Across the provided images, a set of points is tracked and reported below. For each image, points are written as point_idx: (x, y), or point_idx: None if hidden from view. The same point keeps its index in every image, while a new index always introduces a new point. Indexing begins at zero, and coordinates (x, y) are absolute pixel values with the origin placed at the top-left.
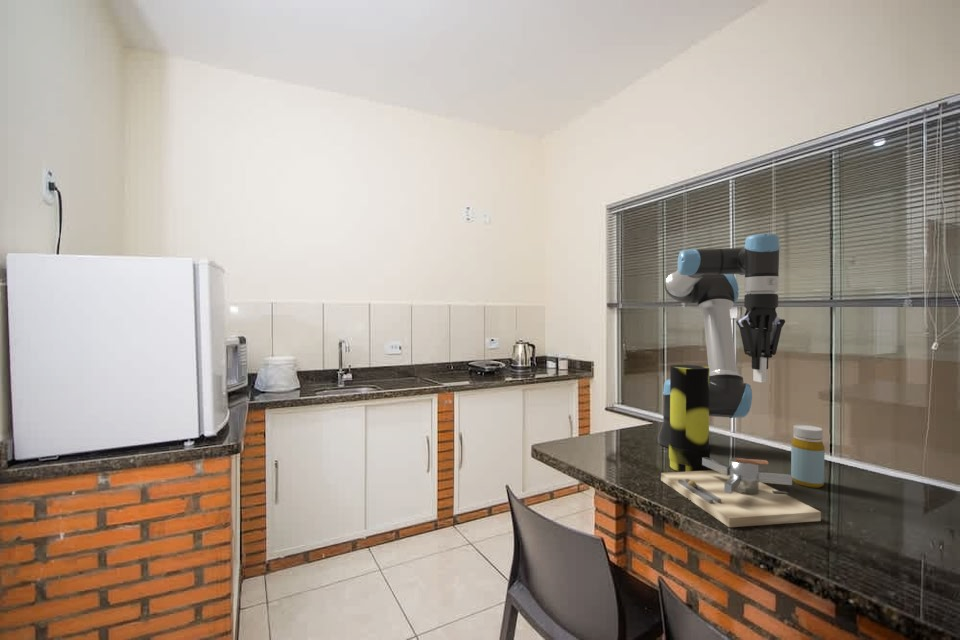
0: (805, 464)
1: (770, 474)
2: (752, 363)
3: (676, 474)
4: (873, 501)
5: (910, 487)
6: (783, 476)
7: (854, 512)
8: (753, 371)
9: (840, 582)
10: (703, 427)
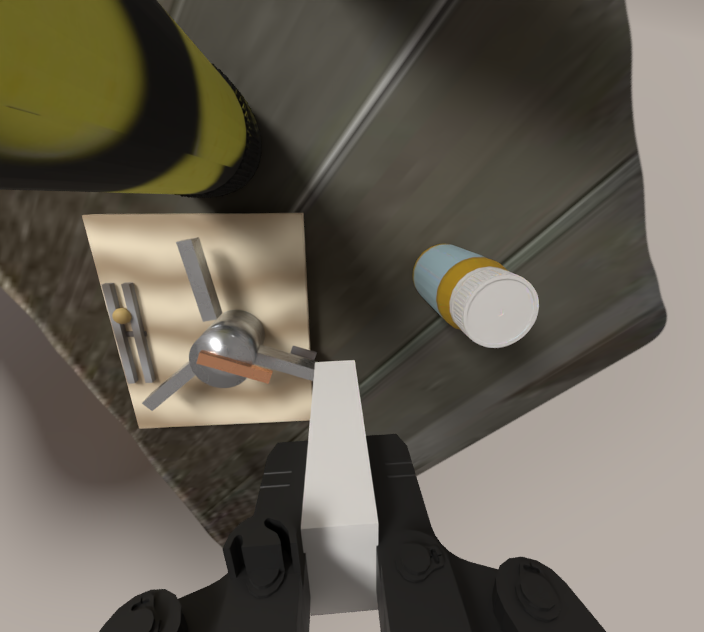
0: (430, 304)
1: (279, 367)
2: (263, 494)
3: (122, 231)
4: (474, 359)
5: (617, 313)
6: (301, 377)
7: (396, 390)
8: (311, 404)
9: (210, 521)
10: (170, 192)
